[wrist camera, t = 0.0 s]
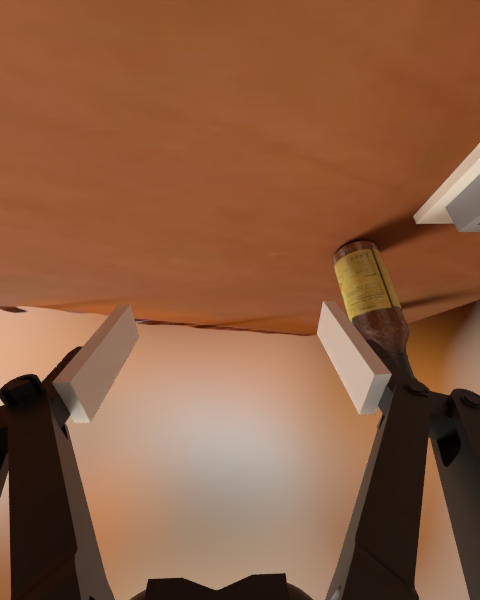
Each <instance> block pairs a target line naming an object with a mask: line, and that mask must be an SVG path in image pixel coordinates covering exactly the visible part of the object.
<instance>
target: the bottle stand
mask: <svg viewBox="0 0 480 600" xmlns="http://www.w3.org/2000/svg"><path fill="white" fill-rule="evenodd" d="M413 217H414V220H415V222H416V224H443V223H454V224H455V226H456V228H457V230H458V232H480V143H479V144H478V145H477V146H476V148H475V149H474V150H473V151H472V152H471V153H470V154H469V155H468V156H467V157H466V159H465V160H464V161H463V162H462V163H461V164H460V165H459V166H458V167H457V169H456V170H455V171H454V172H453V173H452V174H451V175H450V176H449V177H448V178H447V180H446V181H445V182H444V183H443V184H442V185H441V186H440V187H439V188H438V189H437V191H436V192H435V193H434V194H433V195H432V196H431V197H430V198H429V199H428V200H427V202H426V203H425V204H424V205H423V206H422V207H421V208H420V209H419V210H418V211H417V213H416V214H415V215H414V216H413Z"/></svg>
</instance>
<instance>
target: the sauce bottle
mask: <svg viewBox="0 0 480 600" xmlns="http://www.w3.org/2000/svg"><path fill="white" fill-rule="evenodd" d="M334 264H335V271H336V275H337V278H338V282H339V286H340V289H341V293H342V297H343V300H344V303H345V307H346V311H347V314H348V317H349V320H350V322H351V323H352V324H353V325H354V327H355V328H356V329H357V330H358V332H359V333H360V334H361V336H362V337H363V338H364V339H365V340H373V341H375V342H376V343H378V344H379V345H381V347H382V348H383V349H384V350H385V351H386V353H387V354H388V355H389V356H390V357H391V359H393V361H394V362H395V363H396V364H397V365H398V366H399V368H400V369H401V370H402V371H403V372H404V374H405V375H406V376H407V377H408V378H411V379H414V380H417V379H416V378H415V377H414V375H413V372H412V370H411V367H410V364H409V362H408V356H407V354H406V343H407V340H408V336H409V330H408V326H407V323H406V321H405V319H404V316H403V313H402V308H401V305H400V303H399V300H398V297H397V295H396V292H395V290H394V287H393V285H392V282H391V279H390V277H389V274H388V272H387V269H386V267H385V264H384V261H383V259H382V256H381V254H380V252H379V251H378V247H377V246H376V245H375V244H374V243H372V242H370V241H366V240H365V241H356V242H352V243H349V244H347V245H345V246H343V247H342V248H340V249H339V250H338V251H337V252H336V253H335V255H334ZM417 381H418V380H417Z"/></svg>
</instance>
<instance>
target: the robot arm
mask: <svg viewBox="0 0 480 600" xmlns="http://www.w3.org/2000/svg"><path fill="white" fill-rule="evenodd" d="M317 334H318V336H319V338H320V340H321V342H322V344H323V346H324V348H325V349H326V352H327V353H328V355H329V357H330V359H331V361H332V363H333V365H334V367H335V369H336V371H337V373H338V375H339V376H340V378H341V380H342V382H343V384H344V386H345V388H346V390H347V392H348V394H349V396H350V398H351V400H352V401H353V403H354V405H355V407H356V409H357V411H358V413H359V415H372V414H375V413H376V410H377V408H378V407H379V408H380V410H381V411H382V413H383V414H382V417H381V419H380V421H379V423H378V426H377V428H378V429H377V433H376V436H375V440H374V443H373V446H372V450H371V453H370V457H369V460H368V463H367V467H366V470H365V473H364V477H363V480H362V483H361V487H360V490H359V494H358V497H357V500H356V504H355V507H354V510H353V514H352V517H351V521H350V524H349V527H348V531H347V534H346V538H345V541H344V544H343V548H342V551H341V554H340V558H339V561H338V564H337V568H336V571H335V574H334V576H333V579H332V581H331V584H330V587H329V590H328V593H327V596H326V599H325V600H419V596H418V594H417V592H416V590H415V585H414V578H415V568H416V557H417V547H418V537H419V526H420V517H421V506H422V496H423V486H424V475H425V465H426V454H427V445H428V437H429V438H430V439H431V443H432V447H433V451H434V455H435V459H436V464H437V468H438V472H439V476H440V480H441V484H442V488H443V491H444V496H445V500H446V504H447V508H448V512H449V516H450V520H451V524H452V528H453V532H454V537H455V541H456V545H457V548H458V553H459V557H460V561H461V565H462V569H463V573H464V576H465V581H466V585H467V589H468V593H469V597H470V600H480V396H479V395H478V394H476V393H474V392H471V391H469V390H466V389H454V390H453V391H452V392H451V394H450V395H445V394H441V393H436V392H432V391H430V390H429V389H428V388H427V387H426V386H425V385H424V384H423V383H421V382H419V381H417V380H414V379H411V378H408V377H407V376H406V375H405V374H404V372H403V371H402V370H401V369H400V368H399V366H398V365H397V364H396V363H395V362H394V361H393V359H391V357H390V356H389V355H388V354H387V353H386V351H385V350H384V349H383V348H382V347H381V345H379V344H378V343H376V342H375V341H373V340H365V339H364V338H363V337H362V336H361V334H360V333H359V332H358V330H357V329H356V328H355V327H354V325H353V324H352V323H351V322H350V320H349V319H348V318H347V316H346V315H345V314H344V313H343V311H342V310H341V309H340V308H339V306H338V305H337V304H336V302H335V301H323V305H322V310H321V315H320V320H319V326H318V331H317ZM138 338H139V335H138V332H137V328H136V325H135V321H134V317H133V313H132V309H131V306H130V305H118V306H117V308H116V309H115V310H114V311H113V312H112V313H111V315H110V316H109V317H108V318H107V319H106V320H105V322H104V323H103V324H102V325H101V326H100V328H99V329H98V330H97V331H96V332H95V333H94V334H93V336H92V337H91V338H90V339H89V340H88V341H87V342H86V344H85V345H84V346H83V347H77V348H75V349H74V350H72V351H71V352H69V353H68V354H67V355H66V356H65V357H64V358H63V360H62V361H61V362H60V363H59V364H58V365H57V367H55V368H54V369H53V370H52V372H51V373H50V374H49V375H48V376H47V377H46V378H45V379H44V380H43V381H42V383H41V381H40V380H39V378H38V376H37V375H34V374H28V375H23V376H20V377H17V378H15V379H13V380H11V381H9V382H8V383H7V384H5V385H4V386H3V387H2V388H1V389H0V399H1V400H2V402H3V403H4V404H5V405H3V406H0V497H1V493H2V490H3V487H4V483H5V480H6V476H7V473H8V470H9V505H10V506H9V510H10V554H11V555H10V558H11V600H115V599H114V596H113V593H112V591H111V589H110V586H109V585H108V581H107V579H106V575H105V572H104V568H103V564H102V560H101V556H100V552H99V548H98V545H97V541H96V536H95V533H94V529H93V525H92V521H91V517H90V513H89V509H88V505H87V501H86V497H85V494H84V490H83V486H82V482H81V478H80V474H79V470H78V466H77V462H76V459H75V455H74V451H73V447H72V443H71V439H70V435H69V431H68V428H67V425H66V424H65V422H66V421H67V419H68V418H69V416H71V418H72V419H73V421H74V423H90V422H91V421H92V419H93V417H94V416H95V414H96V412H97V410H98V409H99V407H100V405H101V403H102V402H103V400H104V398H105V396H106V395H107V393H108V391H109V389H110V388H111V386H112V384H113V382H114V380H115V379H116V377H117V375H118V373H119V371H120V370H121V368H122V366H123V365H124V363H125V361H126V359H127V358H128V356H129V354H130V352H131V350H132V349H133V347H134V345H135V343H136V342H137V340H138ZM130 600H313V599H312V598H311V597H310V596H309V595H307V594H306V593H305V592H303V591H302V590H301V589H299V588H297V587H295V586H294V585H291V584H289V583H287V582H286V574H285V573H283V574H259V575H251V576H248V577H246V578H244V579H242V580H240V581H238V582H235V583H233V584H231V585H229V586H227V587H224V588H222V589H220V590H213V589H210V588H208V587H205V586H202V585H200V584H197V583H195V582H192V581H189V580H187V579H184V578H165V579H148V583H147V588H146V590H144V591H142V592H141V593H139V594H137V595H136V596H134V597H133V598H131V599H130Z"/></svg>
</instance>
